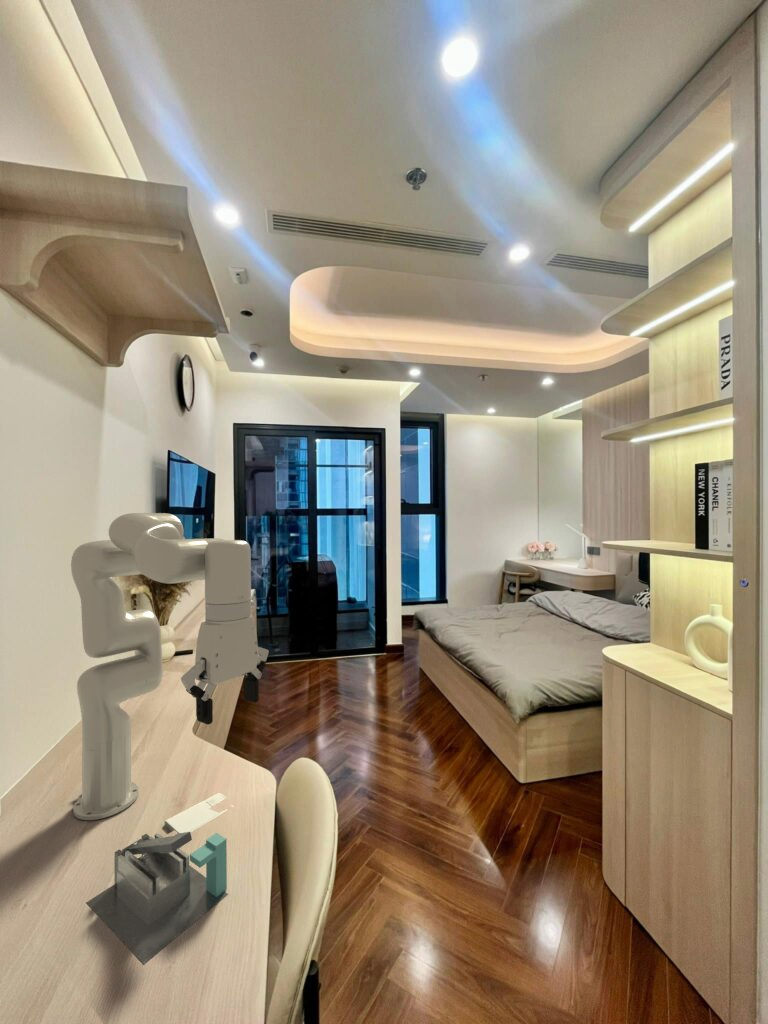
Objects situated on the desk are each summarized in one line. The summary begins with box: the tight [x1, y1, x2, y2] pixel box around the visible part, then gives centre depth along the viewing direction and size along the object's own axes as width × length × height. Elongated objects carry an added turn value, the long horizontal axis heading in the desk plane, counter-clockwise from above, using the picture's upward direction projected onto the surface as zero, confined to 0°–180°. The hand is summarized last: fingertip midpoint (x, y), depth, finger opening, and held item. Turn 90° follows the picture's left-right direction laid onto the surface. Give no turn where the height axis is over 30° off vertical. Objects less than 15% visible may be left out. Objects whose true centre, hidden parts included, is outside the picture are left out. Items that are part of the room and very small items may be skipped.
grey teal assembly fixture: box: [85, 832, 229, 965], centre depth 73 cm, size 18×14×7 cm
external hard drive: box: [164, 792, 235, 834], centre depth 94 cm, size 2×8×12 cm
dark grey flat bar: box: [121, 832, 193, 857], centre depth 74 cm, size 18×3×1 cm, turn 56°
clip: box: [189, 832, 228, 897], centre depth 73 cm, size 3×5×8 cm, turn 146°
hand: (229, 710), depth 75 cm, fingers open, 9 cm apart
